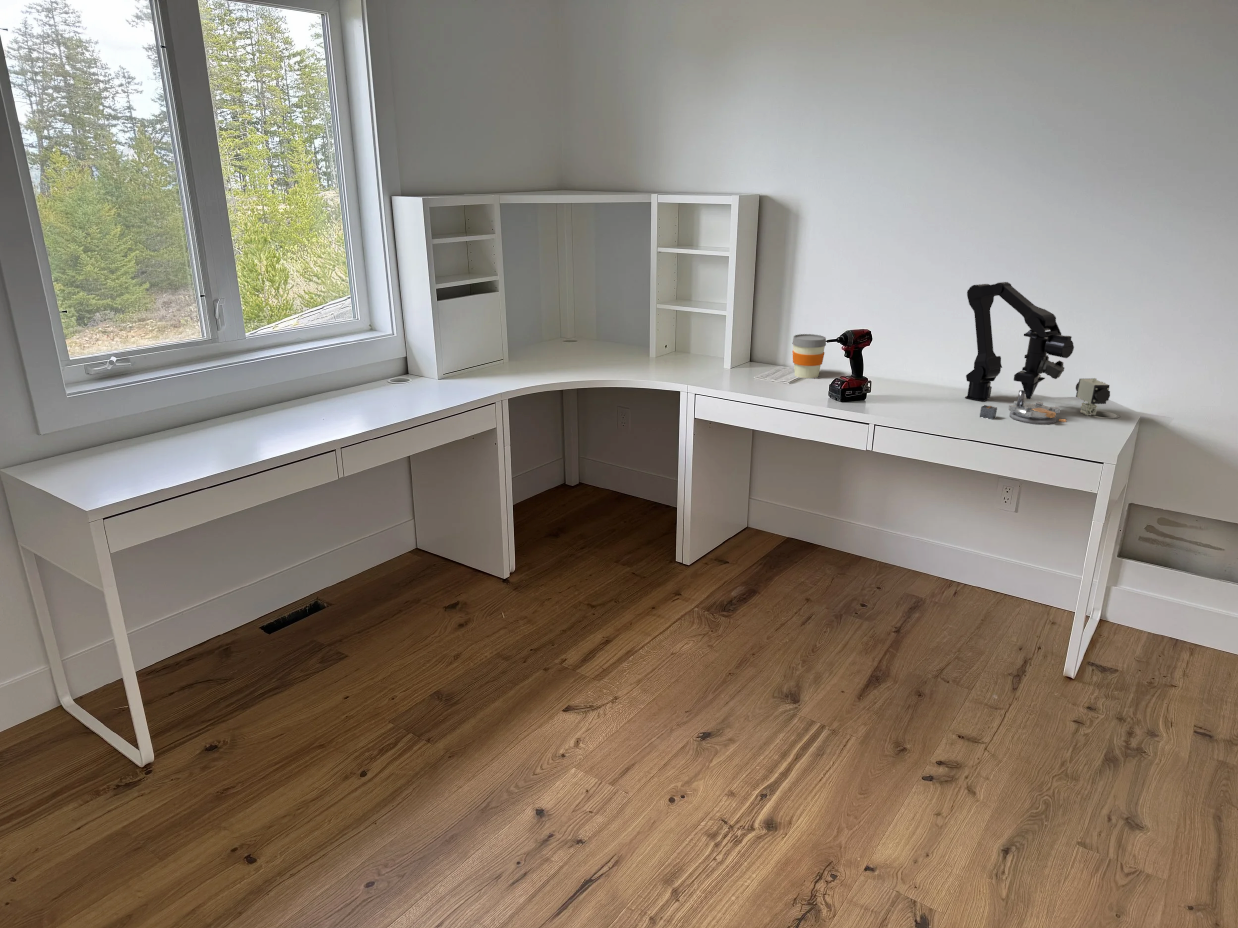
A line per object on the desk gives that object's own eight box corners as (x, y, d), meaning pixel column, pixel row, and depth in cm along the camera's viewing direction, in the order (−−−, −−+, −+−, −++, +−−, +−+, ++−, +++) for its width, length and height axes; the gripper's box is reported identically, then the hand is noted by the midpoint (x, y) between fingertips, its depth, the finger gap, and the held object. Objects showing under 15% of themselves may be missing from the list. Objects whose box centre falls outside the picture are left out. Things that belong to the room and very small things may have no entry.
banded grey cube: (979, 417, 268) (981, 406, 267) (982, 415, 270) (984, 404, 269) (992, 419, 265) (993, 409, 264) (995, 417, 268) (997, 407, 266)
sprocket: (1002, 414, 266) (1005, 393, 263) (1018, 405, 276) (1021, 385, 274) (1049, 423, 257) (1053, 402, 254) (1064, 413, 267) (1068, 392, 265)
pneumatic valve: (1091, 419, 266) (1099, 383, 262) (1070, 409, 277) (1077, 374, 273) (1108, 419, 267) (1115, 382, 262) (1086, 409, 278) (1093, 374, 273)
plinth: (1003, 418, 267) (1003, 415, 266) (1017, 409, 276) (1018, 407, 276) (1056, 428, 256) (1056, 425, 256) (1069, 419, 266) (1070, 416, 266)
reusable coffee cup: (783, 375, 320) (786, 336, 315) (803, 370, 328) (806, 332, 323) (809, 381, 311) (813, 341, 306) (829, 376, 319) (833, 337, 314)
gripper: (1054, 360, 255) (1045, 409, 260) (1072, 351, 268) (1063, 397, 273) (1017, 355, 262) (1009, 402, 268) (1036, 346, 275) (1028, 391, 280)
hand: (1028, 398), depth 272 cm, fingers closed
